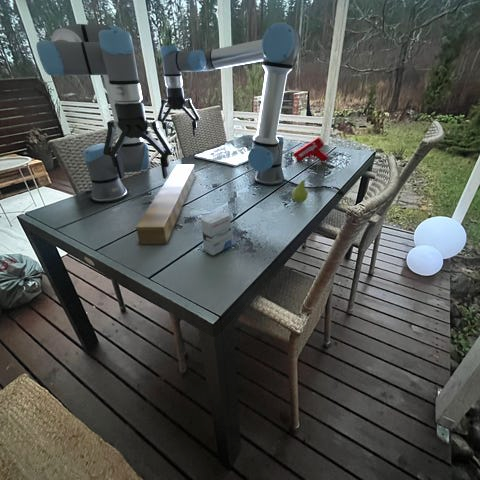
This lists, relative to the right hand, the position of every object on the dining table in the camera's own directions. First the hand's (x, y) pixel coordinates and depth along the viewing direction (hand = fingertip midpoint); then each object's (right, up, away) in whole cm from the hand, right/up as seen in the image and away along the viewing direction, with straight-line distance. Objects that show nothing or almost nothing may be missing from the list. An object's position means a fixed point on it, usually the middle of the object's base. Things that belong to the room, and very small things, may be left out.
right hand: (180, 136), depth 135 cm
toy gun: (+74, -2, +37) cm, 83 cm away
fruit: (+56, -35, -14) cm, 68 cm away
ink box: (+22, -55, -44) cm, 74 cm away
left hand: (-1, -32, -50) cm, 59 cm away
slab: (0, -35, -13) cm, 37 cm away
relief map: (+21, +4, +47) cm, 52 cm away
